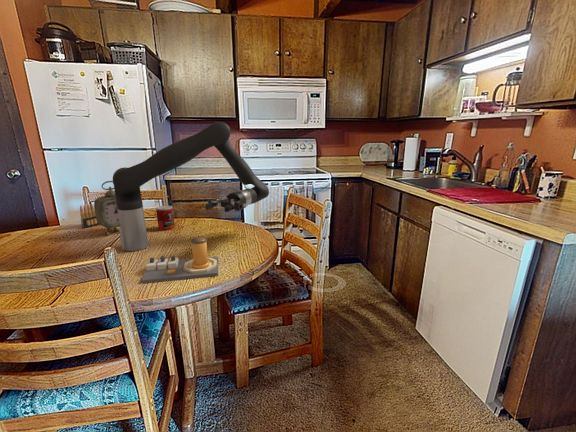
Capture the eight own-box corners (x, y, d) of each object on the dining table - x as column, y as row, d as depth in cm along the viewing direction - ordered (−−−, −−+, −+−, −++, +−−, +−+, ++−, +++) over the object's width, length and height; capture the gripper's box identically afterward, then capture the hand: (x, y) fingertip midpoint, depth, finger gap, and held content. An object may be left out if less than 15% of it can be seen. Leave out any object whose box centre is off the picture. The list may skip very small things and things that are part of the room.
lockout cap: (188, 267, 104) (185, 240, 101) (199, 261, 109) (197, 235, 106) (202, 270, 102) (199, 243, 99) (213, 263, 107) (211, 237, 104)
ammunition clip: (84, 228, 150) (79, 205, 147) (82, 228, 151) (77, 205, 148) (105, 223, 159) (101, 201, 156) (103, 222, 160) (99, 201, 157)
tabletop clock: (105, 237, 138) (95, 183, 131) (97, 233, 143) (87, 182, 136) (136, 229, 149) (128, 179, 142) (127, 226, 154) (120, 178, 147)
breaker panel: (141, 283, 95) (139, 271, 94) (151, 264, 109) (149, 254, 107) (218, 275, 100) (217, 264, 99) (218, 258, 113) (217, 248, 112)
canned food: (165, 231, 145) (162, 209, 142) (155, 228, 149) (152, 207, 146) (178, 227, 152) (175, 206, 149) (168, 225, 156) (165, 204, 153)
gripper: (224, 189, 126) (199, 196, 112) (253, 192, 121) (231, 200, 106) (225, 207, 128) (200, 216, 114) (254, 210, 123) (232, 220, 108)
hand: (215, 208), depth 110 cm, fingers open, 8 cm apart
